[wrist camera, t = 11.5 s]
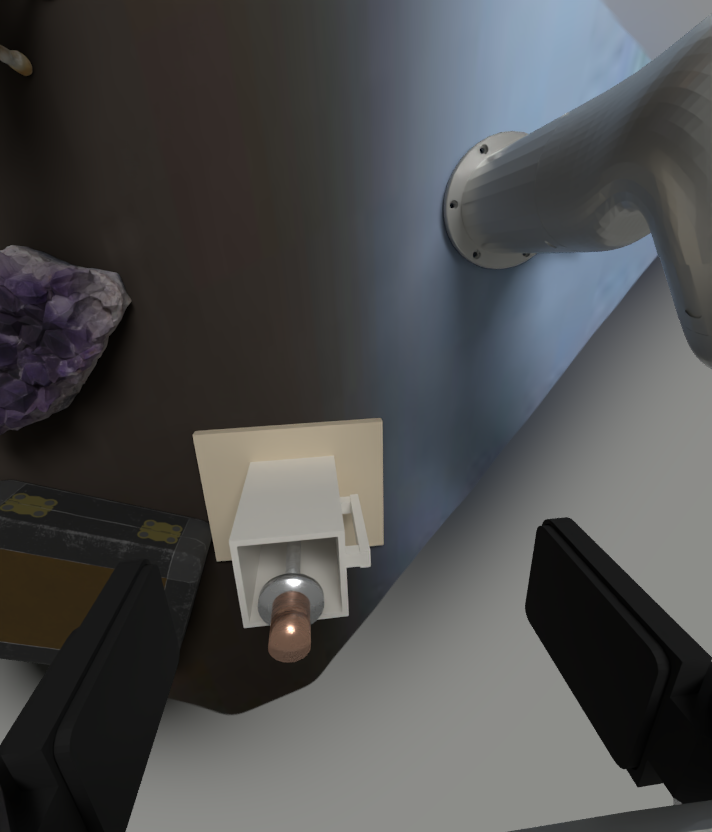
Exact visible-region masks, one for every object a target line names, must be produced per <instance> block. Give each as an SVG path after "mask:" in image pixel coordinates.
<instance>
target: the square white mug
mask: <svg viewBox="0 0 712 832" xmlns="http://www.w3.org/2000/svg"><path fill="white" fill-rule="evenodd" d="M193 440H194V445H195V451H196V456H197V461H198V466H199V472H200V477H201V482H202V487H203V492H204V498H205V503H206V508H207V513H208V518H209V524H210V529H211V534H212V539H213V544H214V550H215V555H216V560H217V562H218V561H228V560H232V563H233V569H234V575H235V580H236V586H237V592H238V597H239V603H240V609H241V615H242V620H243V626H244V628H250V627H258V626H267V625H268V624H266V623H265V622H264V621H263V620H262V618H261V617H260V615H259V612H258V600H259V594H260V591H261V589H262V588H263V586H264V585H265V584H266V583H267V582H268V581H269V580H271V579H272V578H274V577H276V576H279V575H282V574H285V568H286V553H287V542H289V541H299V540H301V559H300V574H304V575H307V576H310V577H312V578H313V579H315V580H316V581H317V582H318V583H319V584H320V586H321V587H322V589H323V592H324V609H323V612H322V614H321V616H320V617H319V618H318V619H317V620H319V619H327V618H336V617H345V616H349V610H348V590H347V570H346V568H348V567H358V566H360V567H361V568H364V567H371V558H370V547H369V546H377V545H384V538H383V429H382V420H381V418H372V419H358V420H344V421H330V422H316V423H302V424H288V425H274V426H260V427H246V428H233V429H219V430H205V431H195V432H194V434H193Z"/></svg>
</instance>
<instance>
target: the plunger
mask: <svg viewBox="0 0 712 832" xmlns="http://www.w3.org/2000/svg"><path fill="white" fill-rule="evenodd" d="M300 559H301V540H299V541H289V542H287V553H286V568H285V574H282V575H279V576H276V577H274V578H272V579H271V580H269V581H268V582H267V583H266V584H265V585H264V586H263V588H262V589H261V591H260V594H259V600H258V612H259V615H260V617H261V618H262V620H263V621H264V622H265V623H266V624H268V625H269V626H270V634H269V645H268V651H269V653H270V655H271V656H272V657H273V658H274V659H276V660H278V661H281V662H295V661H298V660H301V659H302V658H304V657H305V656H306V655H307V654H308V653H309V651H310V648H311V624H313V623H314V622H315V621H316V620H317V619H318V618H319V617H320V616H321V614H322V612H323V609H324V592H323V589H322V587H321V586H320V584H319V583H318V582H317V581H316V580H315V579H313V578H312V577H310V576H307V575H304V574H300Z"/></svg>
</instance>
